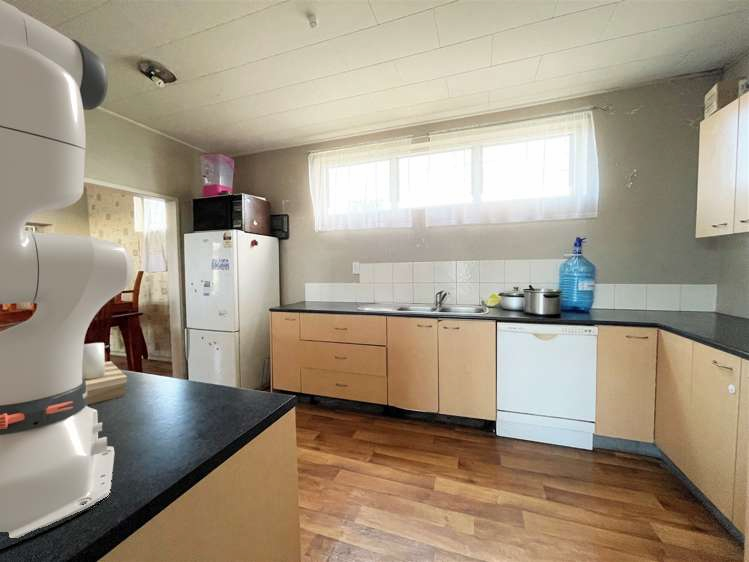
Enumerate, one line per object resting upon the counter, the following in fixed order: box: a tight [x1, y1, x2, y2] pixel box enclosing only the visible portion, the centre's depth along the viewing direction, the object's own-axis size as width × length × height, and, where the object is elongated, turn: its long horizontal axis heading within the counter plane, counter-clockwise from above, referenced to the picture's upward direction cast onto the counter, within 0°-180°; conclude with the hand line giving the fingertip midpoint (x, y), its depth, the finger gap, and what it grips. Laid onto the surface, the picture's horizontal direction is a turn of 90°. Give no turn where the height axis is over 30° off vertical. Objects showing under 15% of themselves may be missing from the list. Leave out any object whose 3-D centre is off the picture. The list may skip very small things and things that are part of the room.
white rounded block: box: [82, 342, 106, 380], centre depth 80 cm, size 5×5×8 cm
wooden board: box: [84, 360, 128, 406], centre depth 82 cm, size 22×14×5 cm, turn 50°
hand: (42, 278), depth 73 cm, fingers open, 8 cm apart
